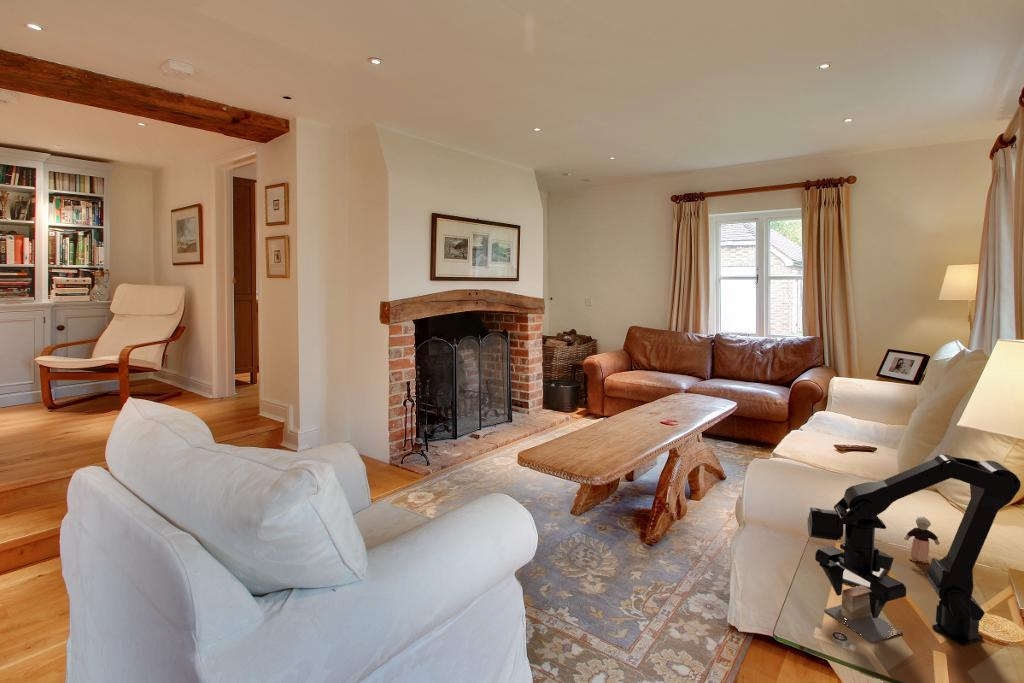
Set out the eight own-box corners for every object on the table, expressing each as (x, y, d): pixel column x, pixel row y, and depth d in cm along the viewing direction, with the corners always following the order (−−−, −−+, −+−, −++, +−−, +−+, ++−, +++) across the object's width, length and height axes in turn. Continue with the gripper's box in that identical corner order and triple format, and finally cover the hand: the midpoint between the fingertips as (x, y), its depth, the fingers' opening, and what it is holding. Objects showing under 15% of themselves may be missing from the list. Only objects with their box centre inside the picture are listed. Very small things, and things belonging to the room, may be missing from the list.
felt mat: (902, 633, 119) (902, 632, 119) (871, 643, 116) (871, 641, 116) (853, 603, 130) (853, 601, 130) (824, 611, 127) (824, 609, 127)
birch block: (871, 615, 125) (872, 591, 124) (851, 621, 123) (852, 596, 122) (860, 608, 127) (861, 585, 126) (841, 614, 125) (842, 590, 125)
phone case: (872, 595, 134) (889, 569, 145) (873, 589, 134) (889, 563, 144) (833, 581, 140) (852, 557, 151) (833, 575, 140) (852, 552, 151)
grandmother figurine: (907, 562, 147) (910, 518, 145) (902, 555, 151) (904, 512, 149) (940, 566, 145) (943, 521, 143) (934, 559, 148) (937, 515, 147)
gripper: (926, 555, 116) (922, 622, 118) (849, 519, 134) (846, 578, 136) (888, 565, 113) (885, 633, 115) (814, 527, 131) (812, 587, 133)
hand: (856, 606), depth 125 cm, fingers open, 9 cm apart
